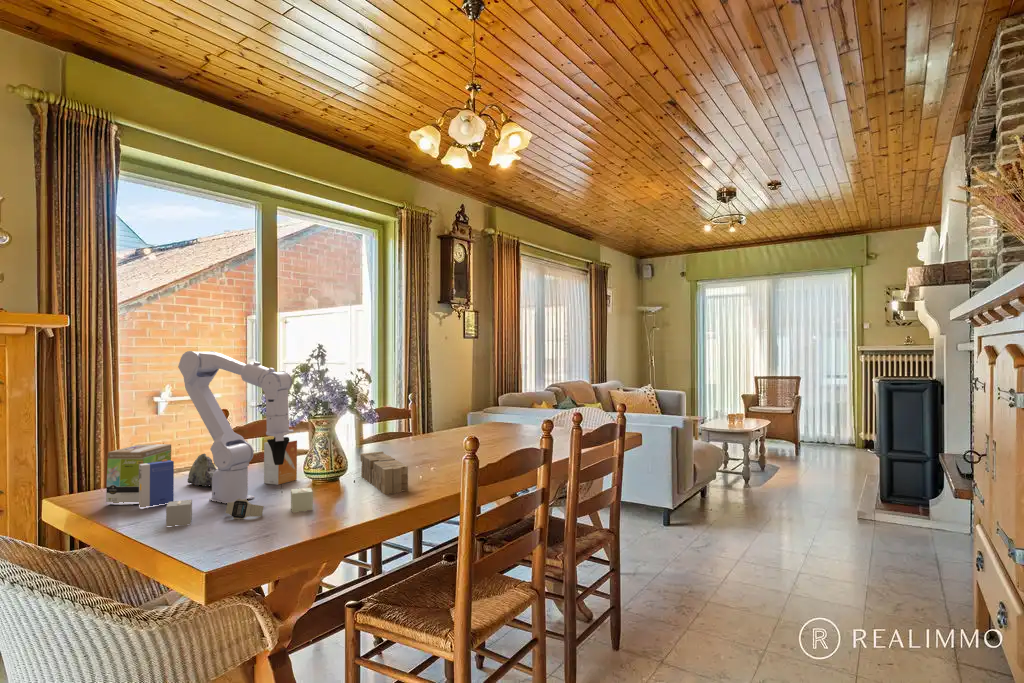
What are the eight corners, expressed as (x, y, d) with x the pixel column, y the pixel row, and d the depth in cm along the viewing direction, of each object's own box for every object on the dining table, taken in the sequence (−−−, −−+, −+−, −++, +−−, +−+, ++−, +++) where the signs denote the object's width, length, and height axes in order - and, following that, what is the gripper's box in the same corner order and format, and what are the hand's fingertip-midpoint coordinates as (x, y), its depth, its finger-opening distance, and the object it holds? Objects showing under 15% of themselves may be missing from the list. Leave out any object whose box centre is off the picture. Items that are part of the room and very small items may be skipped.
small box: (278, 485, 180) (278, 443, 180) (263, 483, 182) (263, 442, 182) (297, 480, 187) (297, 439, 187) (282, 478, 189) (282, 438, 190)
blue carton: (169, 502, 160) (170, 458, 160) (173, 503, 158) (173, 459, 158) (137, 507, 154) (137, 463, 154) (140, 509, 152) (141, 464, 152)
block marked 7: (290, 508, 152) (290, 488, 153) (310, 506, 155) (310, 486, 155) (292, 513, 148) (292, 492, 148) (312, 510, 150) (312, 490, 150)
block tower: (409, 495, 170) (383, 474, 196) (409, 467, 170) (383, 449, 196) (383, 498, 166) (359, 476, 192) (383, 469, 166) (360, 451, 192)
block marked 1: (168, 522, 140) (168, 501, 140) (191, 519, 142) (192, 498, 143) (166, 527, 136) (166, 505, 136) (190, 525, 138) (190, 503, 138)
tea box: (143, 505, 156) (144, 451, 157) (104, 506, 156) (105, 451, 156) (171, 492, 171) (172, 442, 172) (136, 493, 170) (136, 443, 171)
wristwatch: (220, 520, 142) (220, 499, 142) (234, 513, 148) (234, 493, 149) (256, 520, 142) (256, 500, 142) (268, 513, 148) (268, 493, 148)
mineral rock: (219, 489, 175) (219, 456, 175) (179, 492, 171) (179, 458, 172) (226, 480, 187) (226, 449, 187) (189, 483, 184) (189, 451, 184)
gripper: (295, 416, 154) (296, 466, 154) (290, 412, 167) (292, 459, 167) (266, 418, 151) (267, 469, 151) (264, 414, 164) (265, 461, 164)
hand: (278, 464), depth 159 cm, fingers closed
